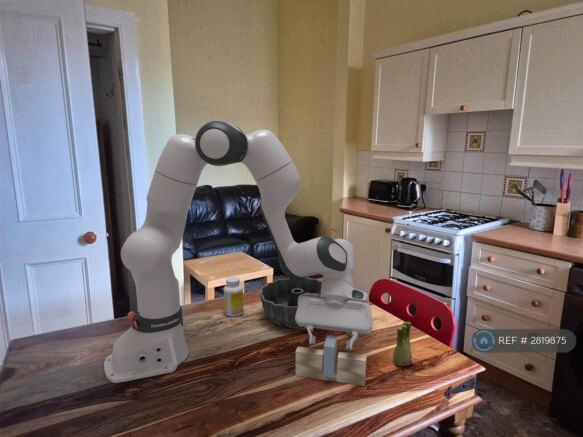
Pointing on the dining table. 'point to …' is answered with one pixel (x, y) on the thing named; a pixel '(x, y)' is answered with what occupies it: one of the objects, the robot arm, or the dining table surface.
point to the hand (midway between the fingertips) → (330, 346)
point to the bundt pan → (286, 298)
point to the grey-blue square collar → (330, 356)
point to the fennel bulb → (403, 346)
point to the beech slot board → (347, 371)
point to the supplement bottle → (233, 297)
